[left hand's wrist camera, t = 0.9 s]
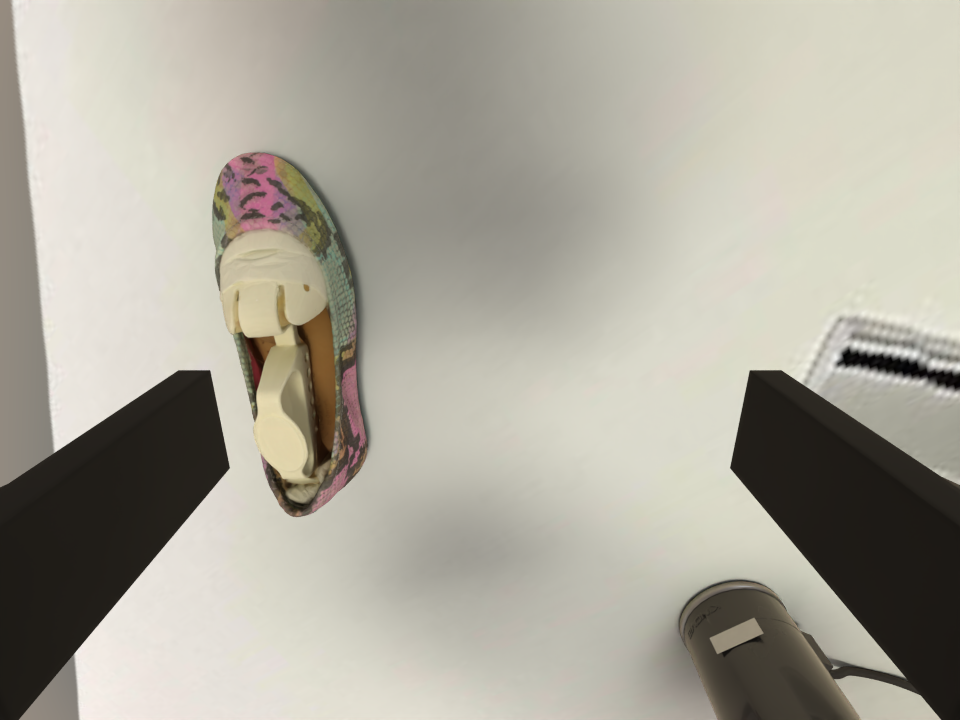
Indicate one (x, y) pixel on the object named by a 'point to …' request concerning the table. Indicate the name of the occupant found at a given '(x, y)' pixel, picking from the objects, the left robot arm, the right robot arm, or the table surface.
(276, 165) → the ballet flat
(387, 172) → the table surface
